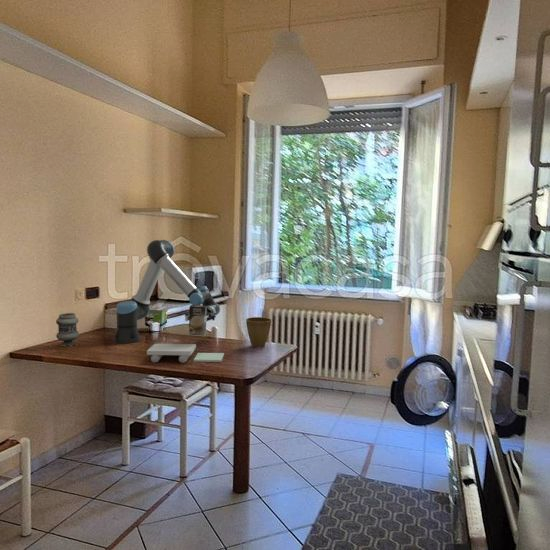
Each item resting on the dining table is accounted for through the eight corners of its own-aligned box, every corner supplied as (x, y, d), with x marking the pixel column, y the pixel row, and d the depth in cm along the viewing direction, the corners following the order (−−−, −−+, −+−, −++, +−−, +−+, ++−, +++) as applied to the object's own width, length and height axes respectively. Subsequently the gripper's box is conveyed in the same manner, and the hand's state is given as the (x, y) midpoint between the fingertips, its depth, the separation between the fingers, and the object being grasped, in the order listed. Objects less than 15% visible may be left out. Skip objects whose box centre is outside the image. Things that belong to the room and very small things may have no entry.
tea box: (162, 331, 307) (162, 309, 305) (147, 331, 307) (147, 309, 306) (167, 327, 322) (167, 306, 320) (153, 327, 322) (153, 306, 321)
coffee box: (188, 335, 253) (188, 306, 252) (189, 332, 260) (190, 304, 258) (204, 335, 254) (205, 306, 252) (206, 333, 260) (206, 305, 259)
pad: (193, 361, 235) (193, 359, 235) (198, 354, 249) (198, 352, 249) (221, 361, 235) (221, 360, 235) (223, 354, 249) (223, 353, 249)
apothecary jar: (52, 346, 261) (51, 315, 259) (64, 342, 273) (63, 312, 271) (72, 347, 259) (71, 316, 258) (83, 343, 271) (82, 312, 270)
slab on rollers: (146, 362, 232) (146, 350, 231) (154, 354, 247) (154, 343, 247) (190, 363, 232) (190, 351, 231) (195, 355, 248) (195, 344, 247)
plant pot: (240, 346, 268) (240, 319, 267) (256, 342, 280) (256, 316, 279) (260, 350, 259) (260, 322, 258) (276, 346, 271) (276, 319, 270)
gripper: (225, 320, 272) (214, 327, 250) (189, 317, 276) (175, 324, 254) (226, 307, 271) (215, 313, 249) (189, 305, 275) (175, 311, 253)
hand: (195, 319), depth 252 cm, fingers closed on coffee box, 10 cm apart
